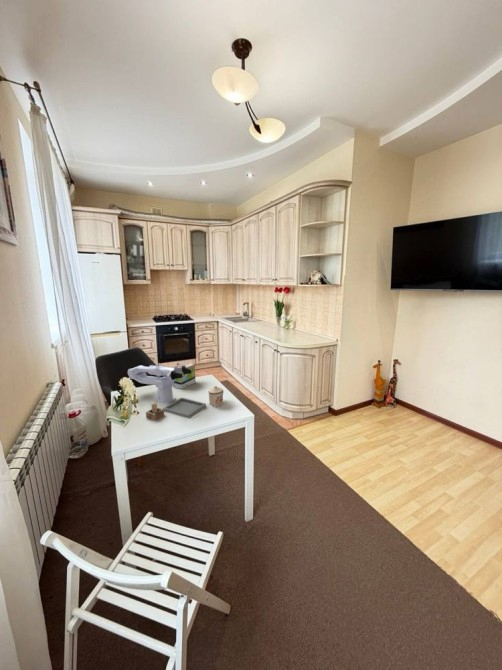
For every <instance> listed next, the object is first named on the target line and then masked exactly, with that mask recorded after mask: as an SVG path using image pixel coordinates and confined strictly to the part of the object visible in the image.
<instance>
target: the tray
mask: <svg viewBox="0 0 502 670" xmlns="http://www.w3.org/2000/svg"><path fill="white" fill-rule="evenodd" d="M205 408H207V403H206V402H201V401H198V400H197V401H196V400H193V399H189V398H185V397H180V398H179V399H176V400H174V401H172V403H171V402H170V403H169V404H167V405H166V406H165V407H162V409H164V412H167V413H170V414H173V415H175V416H180V417H184V418H187V419H189V418H191V417H193V416H194V415H195V414H197V413H198V412H200V411H201V410H203V409H205Z"/></svg>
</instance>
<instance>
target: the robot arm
mask: <svg viewBox="0 0 502 670" xmlns="http://www.w3.org/2000/svg"><path fill="white" fill-rule="evenodd" d="M177 366H178V365H174V366H172V367H169V366H166V365H163V364H162V365H160V366H159V365H154V364H150V365H149V366H145V365H142V364H141V365H138V366H135V367H133V368H128V370H127V375H128V377H129V379H131V380H135V381H136V382H138V383H140V384H145V385H153V386H155V387H156V388H157V390H156V392H157V393H156V395H157V400H156V401H158V402H160V403H161V402H162V403H163V404H164V403H165V404H168V403H169V404H170V403H171V402H174V401H176V400H177V398H176V397H174V396H173V395H174V394H173V393H174V392H173V384H174V379H177V378H182V377H183V375H185V374H190V373H191V370H190V369H188V368H186V367H185V366H182V368H177ZM182 372H183V375H182V374H181V373H182ZM147 374H149V375H150V376H149V375H147ZM152 375H154V376H152ZM161 376H163V377H161Z"/></svg>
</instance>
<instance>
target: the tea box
mask: <svg viewBox="0 0 502 670" xmlns="http://www.w3.org/2000/svg"><path fill="white" fill-rule="evenodd" d="M176 366H177V368H182V366H185V367H186V368H188V369H190V370H191V373H190V374H185V375H183V372H182V373H181V374H182V375H183V377H182V378H177V379H174V384H173V386H172V388H176V389H180V390H183V389H185V388H187V387H188V386H191V385H192V384H195V383H196V382H197V381H196V367H195V366H196V365H195V364H193V363H188V362H185V363H182V364H179V365H176Z"/></svg>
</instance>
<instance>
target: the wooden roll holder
mask: <svg viewBox="0 0 502 670" xmlns="http://www.w3.org/2000/svg"><path fill="white" fill-rule="evenodd" d="M157 410H158V412H156V413H155V414H154V413H152V408H150V409H149V410H147V411H145V416H146V419H149V420H152V421H156V420H158V419H160V418H162V417H163V416H165V411H164V409H163V408H161V407H157Z"/></svg>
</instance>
